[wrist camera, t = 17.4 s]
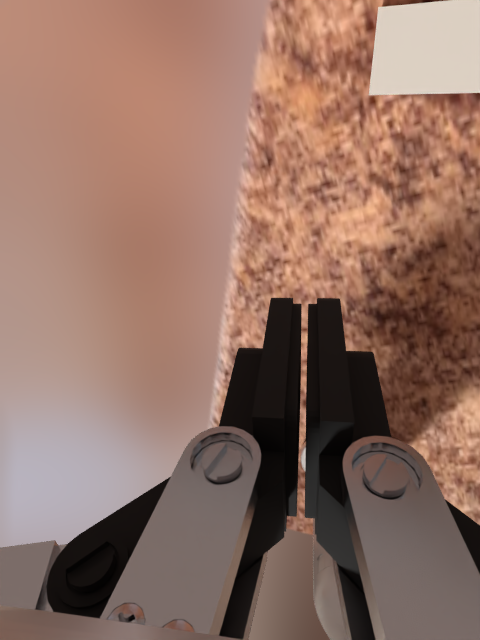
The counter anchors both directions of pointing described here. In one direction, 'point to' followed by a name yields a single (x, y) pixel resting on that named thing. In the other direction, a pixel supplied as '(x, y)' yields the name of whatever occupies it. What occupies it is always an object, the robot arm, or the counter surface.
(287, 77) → the counter surface
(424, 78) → the domino
